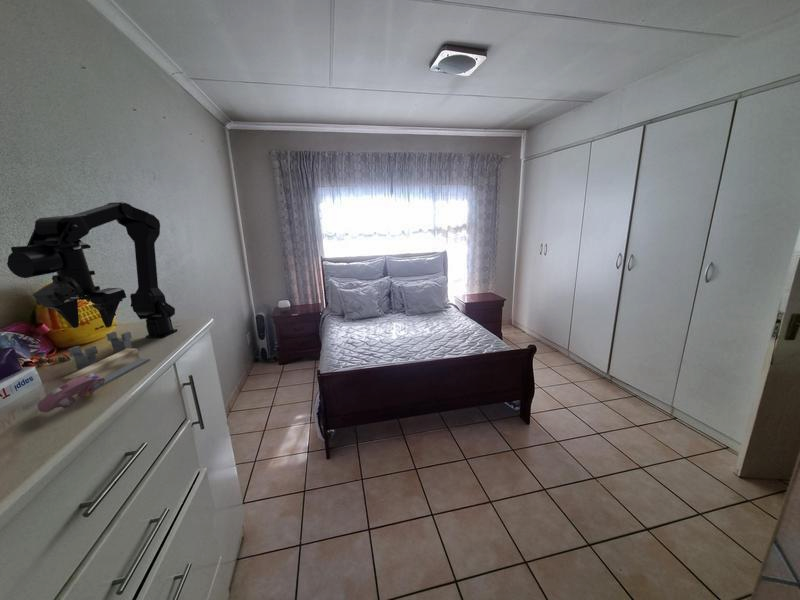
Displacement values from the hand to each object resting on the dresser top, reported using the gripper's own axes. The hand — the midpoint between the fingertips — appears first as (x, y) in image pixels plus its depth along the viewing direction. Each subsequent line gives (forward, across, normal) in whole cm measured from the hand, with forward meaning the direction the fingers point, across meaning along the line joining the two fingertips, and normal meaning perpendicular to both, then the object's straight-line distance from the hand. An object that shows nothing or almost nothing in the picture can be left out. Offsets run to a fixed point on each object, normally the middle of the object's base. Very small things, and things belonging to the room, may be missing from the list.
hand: (92, 327), depth 82 cm
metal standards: (+11, -1, +2) cm, 11 cm away
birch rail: (+10, +7, -6) cm, 13 cm away
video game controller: (+10, +12, -18) cm, 24 cm away
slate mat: (+10, +7, -6) cm, 14 cm away
